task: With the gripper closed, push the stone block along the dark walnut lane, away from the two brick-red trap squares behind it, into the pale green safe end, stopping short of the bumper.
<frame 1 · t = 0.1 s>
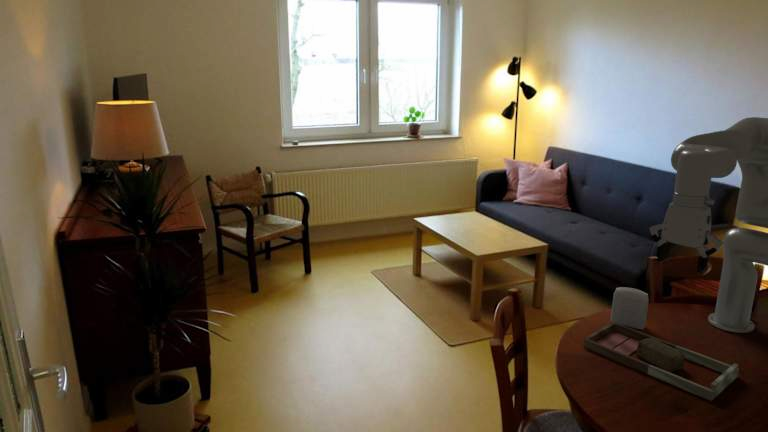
hand: (680, 265, 142), 31 cm above the table, fingers open, 9 cm apart
stone block: (658, 363, 157), on the table
photo printer: (627, 325, 178), on the table
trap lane: (673, 367, 153), on the table
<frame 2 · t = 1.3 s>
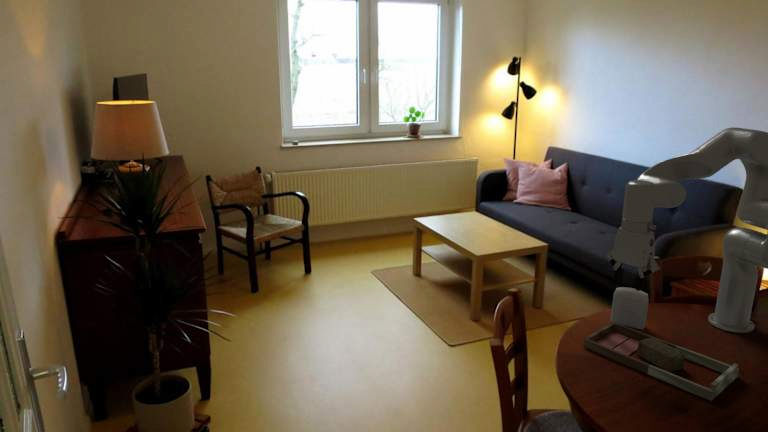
hand: (628, 285, 159), 20 cm above the table, fingers open, 5 cm apart
nothing on the table moved.
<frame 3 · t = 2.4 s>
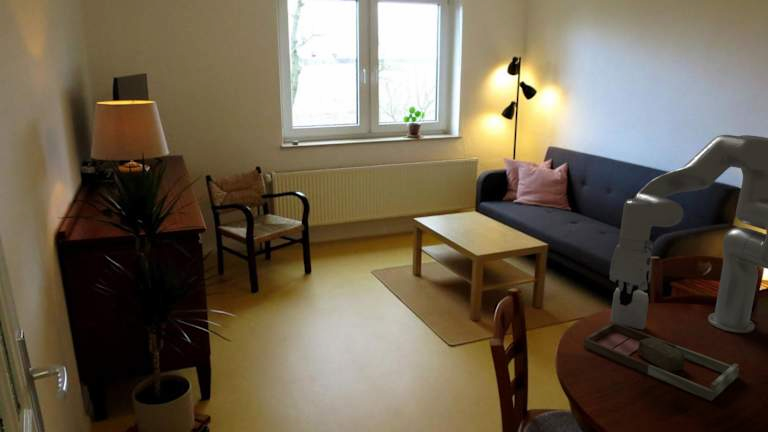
hand: (625, 304, 161), 14 cm above the table, fingers closed
nothing on the table moved.
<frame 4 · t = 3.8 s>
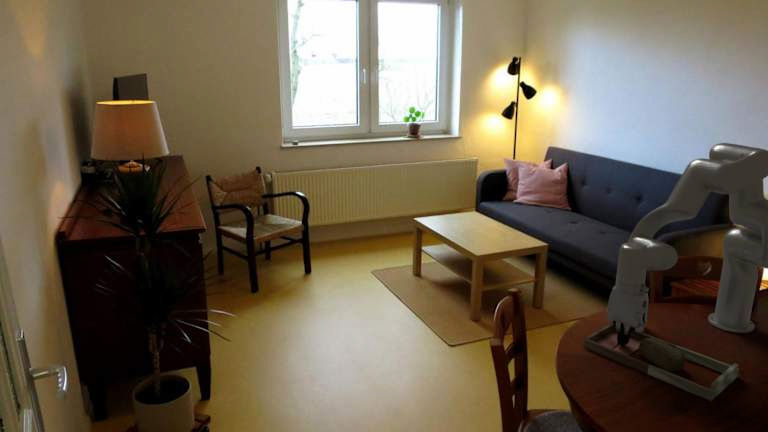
hand: (622, 343, 164), 1 cm above the table, fingers closed
nothing on the table moved.
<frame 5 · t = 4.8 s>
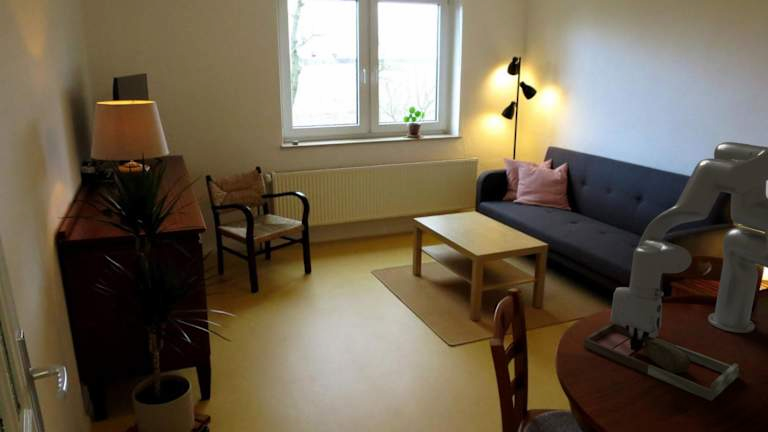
hand: (635, 348, 161), 1 cm above the table, fingers closed
stone block: (664, 364, 156), on the table, touching gripper
everything else where it was.
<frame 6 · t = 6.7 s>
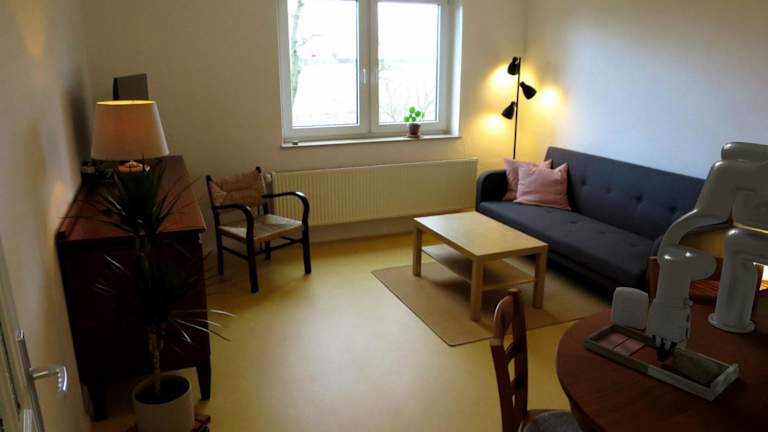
hand: (662, 359, 155), 1 cm above the table, fingers closed
stone block: (694, 375, 150), on the table
everything else where it was.
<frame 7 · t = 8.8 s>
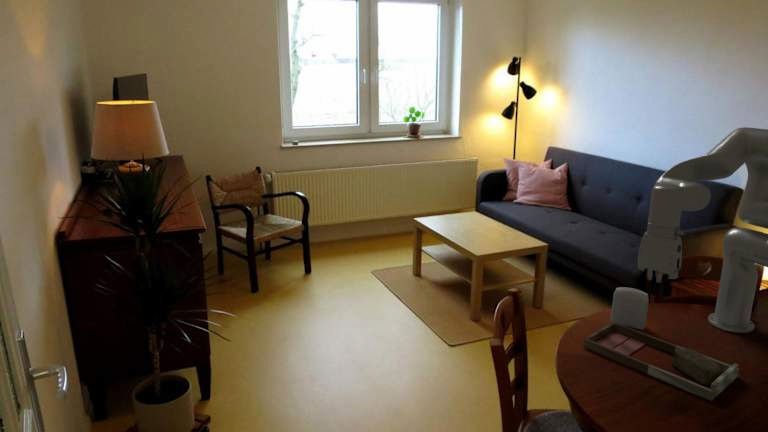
hand: (654, 293, 154), 19 cm above the table, fingers closed
nothing on the table moved.
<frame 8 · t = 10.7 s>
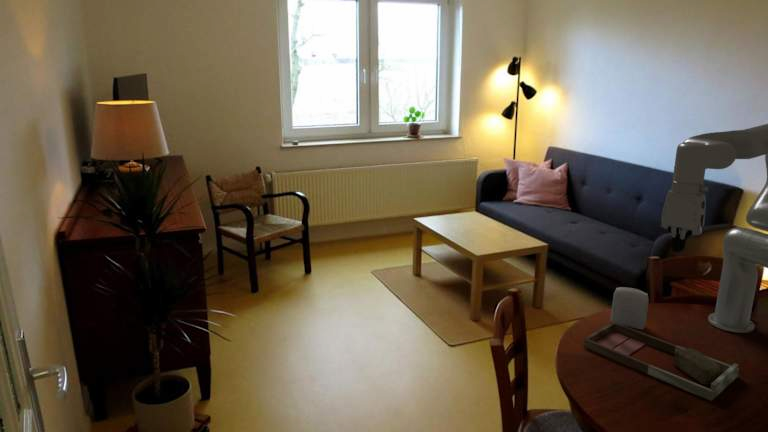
hand: (677, 250, 159), 29 cm above the table, fingers closed
nothing on the table moved.
at the end: stone block inside the target area (1.7 cm from its centre), on the table; stone block tilted 0° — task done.
